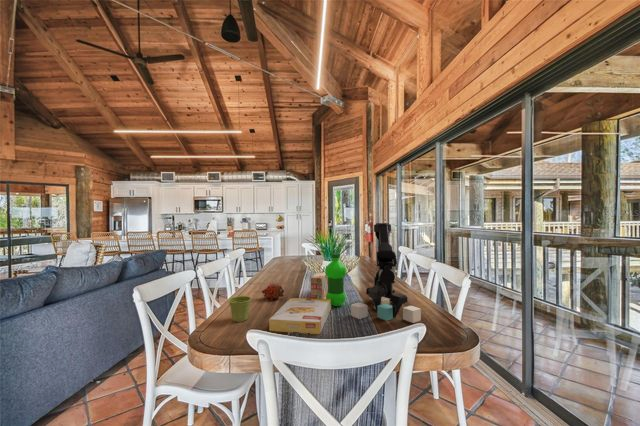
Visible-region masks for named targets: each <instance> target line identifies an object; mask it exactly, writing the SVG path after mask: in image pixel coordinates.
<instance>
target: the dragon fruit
mask: <svg viewBox="0 0 640 426" xmlns="http://www.w3.org/2000/svg"><path fill="white" fill-rule="evenodd" d="M284 292H285V290H284V288H283V287H282V286H281V285H279V284H278V283H275V284H273V283H270V284H269V285H267V287H266V288H263V289H262V290H261V294H263V297H264V298H265V299H269V300H271V301H273V300H279V298H281V297H283V296H284Z"/></svg>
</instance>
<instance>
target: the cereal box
mask: <svg viewBox="0 0 640 426" xmlns="http://www.w3.org/2000/svg"><path fill="white" fill-rule="evenodd" d="M331 310H332V306H331V299H326V298H325V299H311V297H310V298H309V297H307V298H303V297H302V298H301V297H300V298H299V297H290V298H289V299H287V301H286V302H285V303H284V304H283V305H282V306H280V308H279V309H278V310H277V311H276V312H275V313H273V315H272V316H271V317H270V318H269V320H268V324H269V325H268V329H269V331H270V332H281V333H283V332H284V333H293V332H299V333H298V334H307V333H310V334H309V335H320V334H321V332H322V330H323V328H324V326H325V324H324V323H326V321H327V320H328V317H329V314H330V312H331Z"/></svg>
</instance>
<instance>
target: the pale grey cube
mask: <svg viewBox="0 0 640 426" xmlns="http://www.w3.org/2000/svg"><path fill="white" fill-rule="evenodd" d="M350 316H351V317H353V318H355V319H358V320H361V319H363V318H367V317H368V305H367V304H365V303H362V302H359V301H358V302H355V303H351V304H350Z"/></svg>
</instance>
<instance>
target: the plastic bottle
mask: <svg viewBox="0 0 640 426" xmlns="http://www.w3.org/2000/svg"><path fill="white" fill-rule="evenodd" d="M330 257H331V259H332V261H330V262H329V263H328V264H327V266H325V269H324V273H325V274H326V276H327V277H328V292H327V295H326V298H325V299H331V305H333V306H332V307H334V306H339V307H341V306H342V305H343V304H344V303H345V301H346V299H347V295H346V293H345V279H344V278H345V276H346V274H347V267H346V265H344V263H342V262H341V261H340V258H341V254H340V253H339V252H337V253H336V252H335V253H331V254H330ZM340 305H341V306H340Z"/></svg>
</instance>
